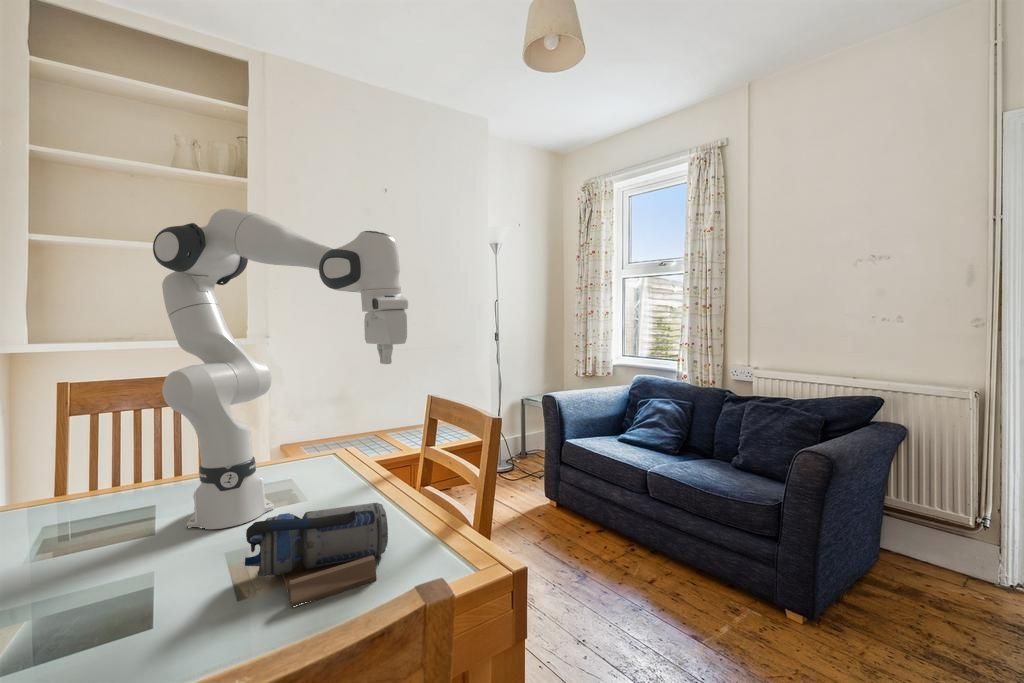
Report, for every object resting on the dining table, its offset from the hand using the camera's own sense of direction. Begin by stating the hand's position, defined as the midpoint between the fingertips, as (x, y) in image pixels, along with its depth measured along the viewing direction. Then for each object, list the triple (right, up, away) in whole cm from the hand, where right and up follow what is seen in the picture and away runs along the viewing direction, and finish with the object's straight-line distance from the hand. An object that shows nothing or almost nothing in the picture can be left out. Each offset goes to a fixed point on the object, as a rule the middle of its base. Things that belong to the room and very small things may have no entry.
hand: (385, 363), depth 109 cm
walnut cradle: (-7, -38, -18) cm, 43 cm away
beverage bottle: (+3, -32, -13) cm, 35 cm away
